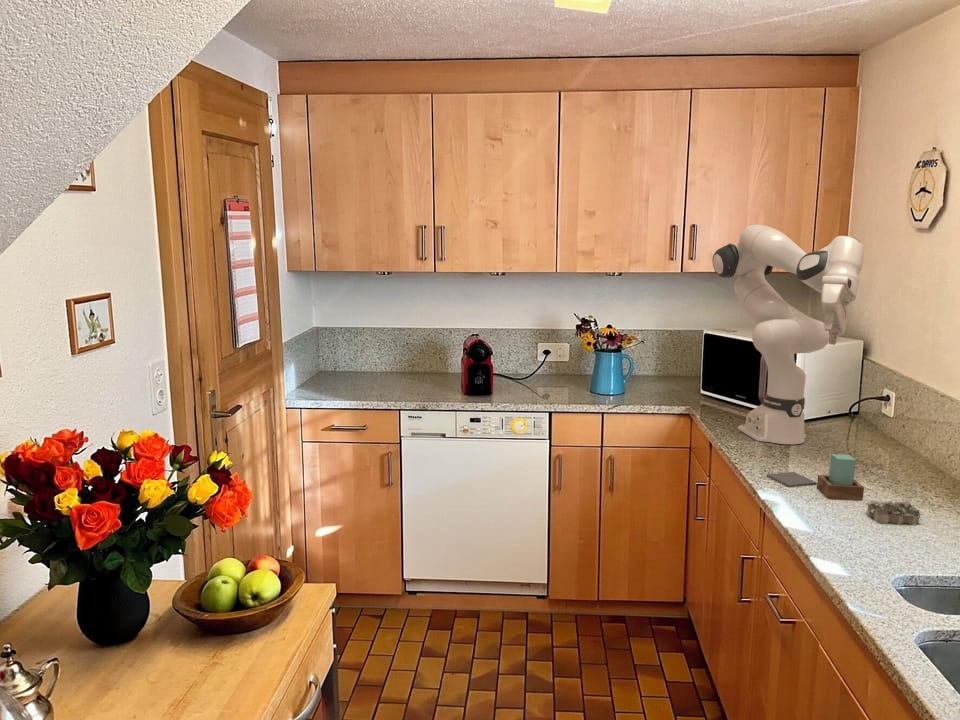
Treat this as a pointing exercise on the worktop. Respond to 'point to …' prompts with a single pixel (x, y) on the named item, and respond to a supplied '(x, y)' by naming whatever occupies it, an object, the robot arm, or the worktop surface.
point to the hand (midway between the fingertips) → (829, 336)
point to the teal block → (841, 469)
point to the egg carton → (893, 512)
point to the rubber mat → (791, 479)
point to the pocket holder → (840, 489)
